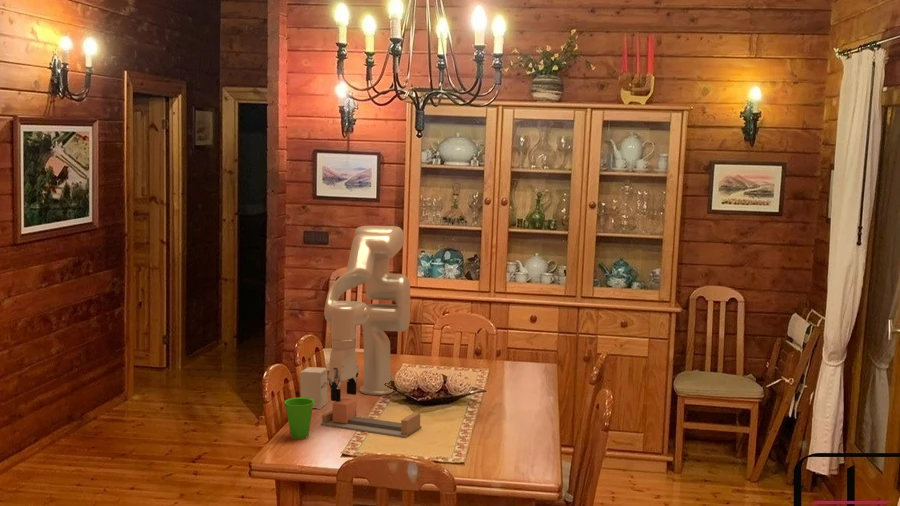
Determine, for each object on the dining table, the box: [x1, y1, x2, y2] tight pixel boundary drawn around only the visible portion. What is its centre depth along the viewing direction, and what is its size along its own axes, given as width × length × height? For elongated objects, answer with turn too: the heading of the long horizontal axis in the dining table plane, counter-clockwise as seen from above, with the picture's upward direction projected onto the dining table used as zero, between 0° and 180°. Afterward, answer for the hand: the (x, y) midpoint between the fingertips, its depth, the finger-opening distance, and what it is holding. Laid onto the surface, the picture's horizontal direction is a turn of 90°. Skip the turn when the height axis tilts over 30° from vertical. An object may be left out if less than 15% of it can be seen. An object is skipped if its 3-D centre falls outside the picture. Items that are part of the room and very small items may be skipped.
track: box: [320, 409, 422, 439], centre depth 285 cm, size 11×30×5 cm, turn 66°
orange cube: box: [332, 397, 357, 424], centre depth 289 cm, size 6×5×6 cm
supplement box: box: [299, 366, 328, 410], centre depth 307 cm, size 7×7×13 cm
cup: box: [283, 396, 315, 440], centre depth 275 cm, size 9×9×11 cm
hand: (343, 397), depth 288 cm, fingers open, 9 cm apart
